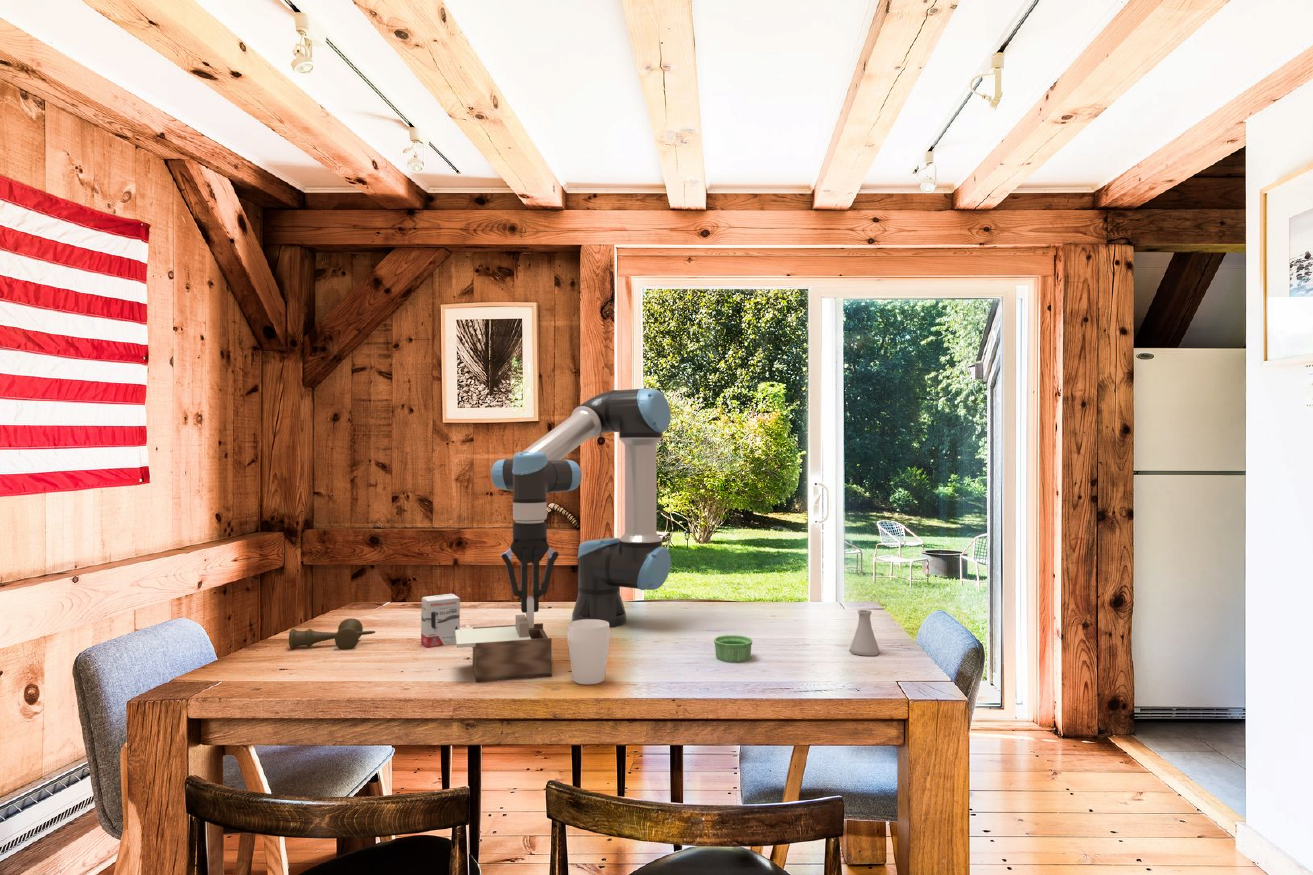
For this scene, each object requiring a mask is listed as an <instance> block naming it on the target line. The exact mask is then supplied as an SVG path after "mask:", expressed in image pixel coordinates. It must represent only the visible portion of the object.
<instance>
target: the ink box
mask: <svg viewBox="0 0 1313 875" xmlns="http://www.w3.org/2000/svg"><path fill="white" fill-rule="evenodd" d="M460 601H461V598H460V597H459V596H457V595H456V594H454V593H447V594H438V595H430V596H429V595H428V596H423V597H421V612H420V613H421V615H420V618H421V621H420V622H421V623H420V644H421V645H422V646H424V647H426V648H427V649H428V648H429V649H430V648H434V647H442V646H443V647H444V646H450V645H455V644H456V635H455V630H461V629H460V628H461V624H460V621H461V620H460V617H461V614H460V612H461V607H460V606H461V602H460Z"/></svg>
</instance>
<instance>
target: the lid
mask: <svg viewBox="0 0 1313 875" xmlns="http://www.w3.org/2000/svg"><path fill="white" fill-rule="evenodd" d="M515 625H516V626H510V627H494V628H477V629H473V628H462V629H460V630H455V635H456V648H457V649H461V648H473V647H476V643H481V642H496V641H511V640H526V639H531V638H530V636H529V623H528V621H527V619H526V614H515Z"/></svg>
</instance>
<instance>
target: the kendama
mask: <svg viewBox="0 0 1313 875" xmlns="http://www.w3.org/2000/svg"><path fill="white" fill-rule="evenodd" d="M375 633H376V630H364V628H363V624H362V622H361V621H360V620H359V619H356V618H352V617H351V618H347V619H346V618H345V619H344V620H342V621H340V624H339V625H338V628H337V631H336V632H329V631H327V632H326V631H315V630H313V629H312V628H308V629H307V630H297V629H295V628H291V629H290V631H289V633H288V646H289V649H290V650H292V651H293V650H295V649H296V648H299V647H304V646H306V647H309V648H311V646H313V645H314V644H317V643H321V642H325V641H330V640H334V642H335V645H336V647H337V648H338V649H340V650H342V651H343V650H351V649H354V648H355V647H357V644H358V643H359V639H361V637H362V636H366V635H372V634H375Z"/></svg>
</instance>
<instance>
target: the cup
mask: <svg viewBox="0 0 1313 875" xmlns="http://www.w3.org/2000/svg"><path fill="white" fill-rule="evenodd" d="M567 625H568V626H567V637H566V638H567V645H568V653H569V654H568V655H569V659H570V660H569V662H570V667H571V674H572V681H573V682H574V683H576V684H579V685H584V686H586V685H587V686H591V685H597V684H600V683H603V682H604V681H605V679H606V678H605V677H606V671H607V664H608V663H607V662H608V656H609V655H608V654H609V649H610V648H609V647H610V641H611V632H610V631H611V630H610V627H609V622H607V621H604V620H597V619H584V620H576V621H572V620H571V621H570V622H569V623H568V624H567Z"/></svg>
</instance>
